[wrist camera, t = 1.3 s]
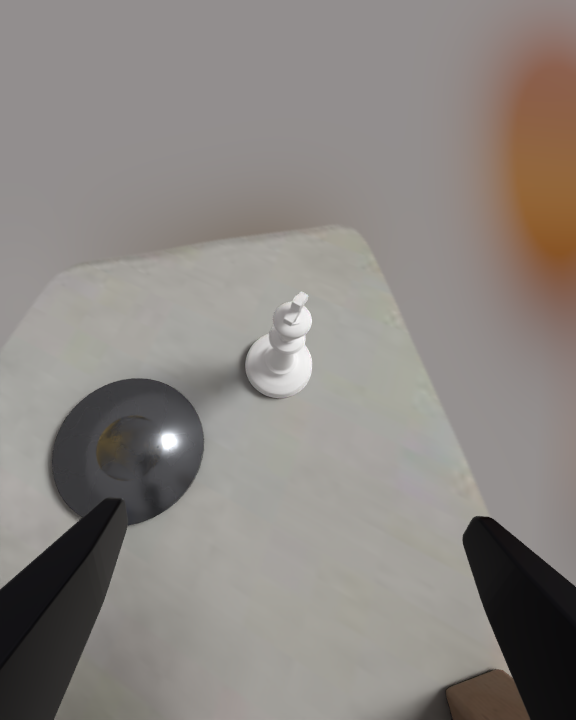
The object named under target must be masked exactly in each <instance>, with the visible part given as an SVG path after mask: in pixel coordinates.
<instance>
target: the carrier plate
mask: <svg viewBox="0 0 576 720" xmlns="http://www.w3.org/2000/svg"><path fill="white" fill-rule="evenodd" d="M203 451H204V435H203V429H202V424H201V422H200V419H199V416H198V414H197V412H196V411H195V409H194V407H193V406H192V405H191V403H190V402H189V401H188V400H187V399H186V398H185V397H184V396H183V395H182V394H181V393H180V392H178V391H177V390H176V389H174V388H172V387H171V386H169V385H167V384H164V383H162V382H159V381H155V380H150V379H126V380H121V381H117V382H113V383H111V384H108V385H105V386H103V387H101V388H99V389H97V390H96V391H94V392H92V393H91V394H89V395H88V396H87V397H85V398H84V399H83V400H82V401H81V402H80V403H79V404H78V405H77V406H76V407H75V408H74V409H73V410H72V411H71V412H70V414H69V415H68V416H67V418H66V419H65V421H64V423H63V424H62V426H61V428H60V430H59V433H58V435H57V438H56V441H55V444H54V450H53V458H52V467H53V475H54V479H55V483H56V486H57V488H58V491H59V493H60V494H61V496H62V498H63V499H64V501H65V502H66V503H67V504H68V505H69V507H70V508H71V509H73V510H74V511H75V512H76V513H77V514H79V515H81V516H82V517H84V516H85V515H86V514H87V513H88V512H90V511H91V510H92V509H93V508H94V507H95V506H96V505H98V504H99V503H100V502H101V501H102V500H103V499H105V498H108V497H112V498H123V499H124V500H125V504H126V511H127V518H128V525H131V524H136V523H140V522H143V521H146V520H148V519H150V518H153V517H155V516H157V515H159V514H160V513H162V512H164V511H165V510H167V509H168V508H170V507H171V506H172V505H173V504H175V503H176V502H177V501H178V500H179V499H180V498H181V497H182V496H183V495H184V494H185V492H186V491H187V490H188V488H189V487H190V486H191V484H192V482H193V481H194V479H195V477H196V475H197V473H198V470H199V468H200V465H201V461H202V457H203Z"/></svg>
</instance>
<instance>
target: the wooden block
mask: <svg viewBox="0 0 576 720" xmlns="http://www.w3.org/2000/svg"><path fill="white" fill-rule="evenodd" d="M446 697H447V700H448V704H449V707H450V711H451V714H452V718H453V720H530V718H529V716H528V713H527V711H526V709H525V706H524V704H523V701H522V699H521V697H520V694H519V692H518V689H517V687H516V685H515V682H514V680H513V678H512V677H511V676H509V675H508V674H507V673H506V672H504V671H503V670H499V669H495V670H493V671H490V672H487V673H485V674H482V675H480V676H477V677H474V678H472V679H469V680H467V681H464V682H461V683H459V684H456V685H454V686H451V687H449V688H448V689H447V690H446Z"/></svg>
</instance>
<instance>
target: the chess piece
mask: <svg viewBox="0 0 576 720" xmlns="http://www.w3.org/2000/svg"><path fill="white" fill-rule="evenodd" d="M308 296H309V295H307V294H305V293H303V292H300V293H299V295H296V296H295V298H294V299H293V301H292V302H286V303H283V304H282V305H280V306H279V307H278V308H277V309H276V310H275V312H274V315H273V324H274V326H273V327H272V328H271V330H270V332H269V334H267V335H264V336H262V337H261V338H259V339H258V340H257V341H255V342H254V344H253V345H252V346H251V348H250V350H249V352H248V354H247V357H246V362H245V369H246V374H247V377H248V379H249V381H250V383H251V384H252V385H253V387H254V388H255V389H256V390H258V391H259V392H260V393H262V394H264V395H266V396H269V397H273V398H286V397H290V396H292V395H295V394H296V393H298V392H299V391H301V390H302V389H303V388H304V387H305V386H306V384H307V383H308V381H309V379H310V376H311V371H312V359H311V355H310V352H309V350H308V349H307V347H306V346H305V334H306V333H307V332H308V331H309V330H310V328H311V324H312V318H311V314H310V312H309V311H308V309H307V308H306V307H305V306H304V304H305V303H306V301H307V299H308Z"/></svg>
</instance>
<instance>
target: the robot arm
mask: <svg viewBox="0 0 576 720" xmlns="http://www.w3.org/2000/svg"><path fill="white" fill-rule="evenodd" d="M127 525H128V518H127V511H126V504H125V500H124V499H123V498H112V497H108V498H105V499H103V500H102V501H101V502H100V503H99V504H98V505H96V506H95V507H94V508H93V509H92V510H91V511H90V512H88V513H87V514H86V515H85V516H84V517H83V518H82V519H80V520H79V521H78V522H77V523H76V524H75V525H74V526H72V527H71V528H70V529H69V530H68V531H67V532H65V533H64V534H63V535H62V536H61V537H60V538H59V539H57V540H56V541H55V542H54V543H53V544H52V545H51V546H49V547H48V548H47V549H46V550H45V551H44V552H43V553H41V554H40V555H39V556H38V557H37V558H36V559H35V560H33V561H32V562H31V563H30V564H29V565H28V566H27V567H25V568H24V569H23V570H22V571H21V572H20V573H19V574H17V575H16V576H15V577H14V578H13V579H12V580H11V581H9V582H8V583H7V584H6V585H5V586H4V587H3V588H1V589H0V720H54V718H55V715H56V713H57V711H58V708H59V706H60V704H61V701H62V699H63V697H64V694H65V692H66V690H67V687H68V685H69V682H70V680H71V678H72V675H73V673H74V671H75V668H76V666H77V664H78V661H79V659H80V657H81V654H82V652H83V649H84V647H85V645H86V642H87V640H88V638H89V635H90V633H91V631H92V628H93V626H94V624H95V621H96V619H97V616H98V614H99V612H100V609H101V607H102V604H103V602H104V599H105V596H106V593H107V590H108V587H109V584H110V581H111V578H112V574H113V571H114V568H115V565H116V562H117V559H118V555H119V552H120V549H121V546H122V543H123V540H124V536H125V533H126V530H127ZM463 546H464V549H465V552H466V555H467V558H468V561H469V564H470V567H471V571H472V574H473V577H474V580H475V583H476V586H477V589H478V592H479V595H480V598H481V601H482V604H483V607H484V610H485V612H486V615H487V617H488V620H489V622H490V625H491V627H492V629H493V632H494V634H495V637H496V639H497V641H498V644H499V646H500V649H501V651H502V653H503V656H504V658H505V661H506V663H507V665H508V668H509V670H510V673H511V675H512V677H513V680H514V682H515V685H516V687H517V689H518V692H519V694H520V697H521V699H522V701H523V704H524V706H525V709H526V711H527V713H528V716H529V718H530V720H576V587H575V586H574V585H573V584H572V583H570V582H569V581H568V580H567V579H565V578H564V577H563V576H562V575H561V574H559V573H558V572H557V571H556V570H555V569H553V568H552V567H551V566H550V565H548V564H547V563H546V562H545V561H544V560H543V559H541V558H540V557H539V556H538V555H536V554H535V553H534V552H532V550H530V549H529V548H528V547H527V546H525V545H524V544H523V543H522V542H521V541H519V540H518V539H517V538H516V537H515V536H513V535H512V534H511V533H510V532H509V531H507V530H506V529H505V528H504V527H502V526H501V525H500V524H499V523H498V522H496V521H495V520H494V519H492V518H490V517H484V516H475V517H474V518H473V519H472V520H471V522H470V524H469V525H468V527H467V529H466V531H465V532H464V534H463Z"/></svg>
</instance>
